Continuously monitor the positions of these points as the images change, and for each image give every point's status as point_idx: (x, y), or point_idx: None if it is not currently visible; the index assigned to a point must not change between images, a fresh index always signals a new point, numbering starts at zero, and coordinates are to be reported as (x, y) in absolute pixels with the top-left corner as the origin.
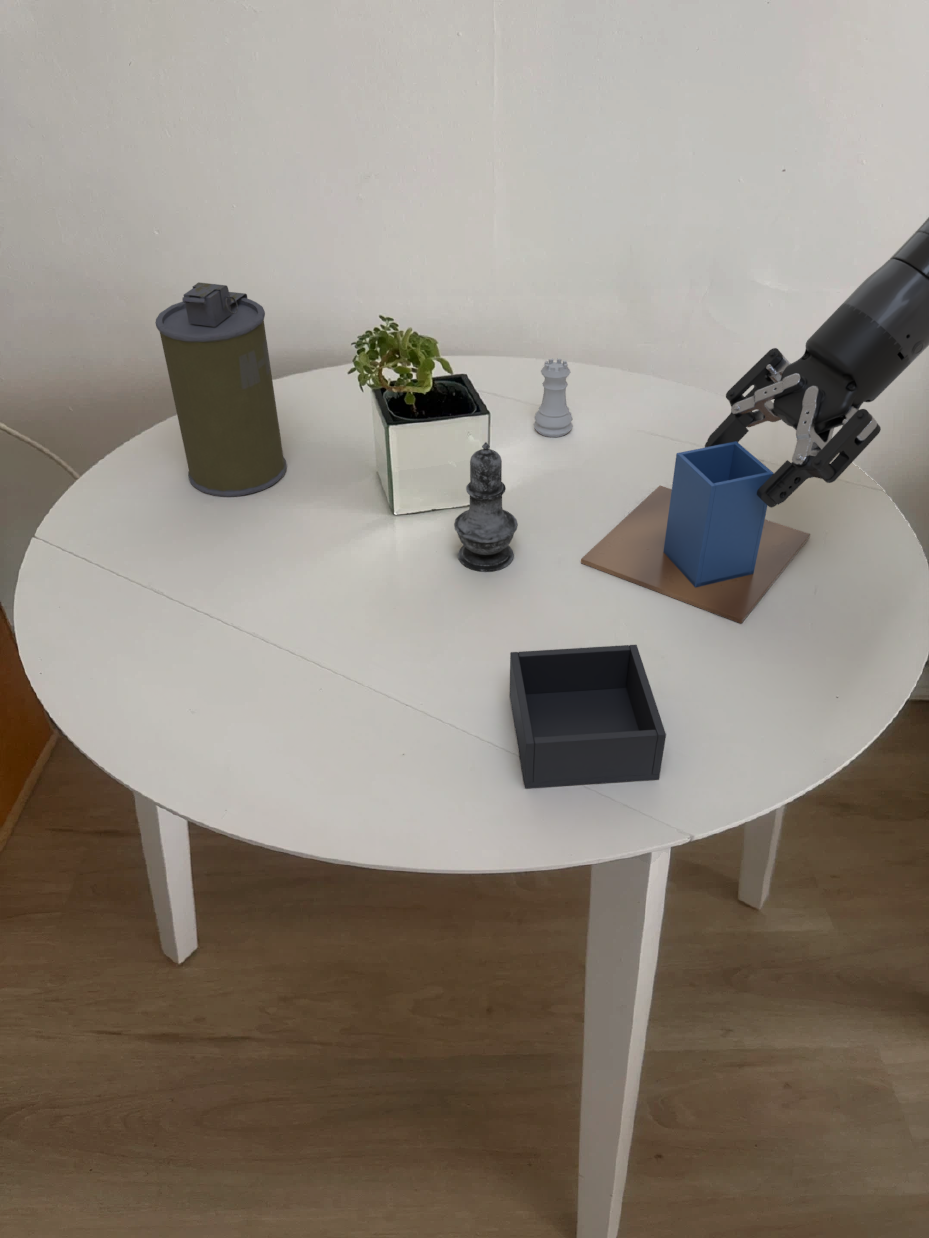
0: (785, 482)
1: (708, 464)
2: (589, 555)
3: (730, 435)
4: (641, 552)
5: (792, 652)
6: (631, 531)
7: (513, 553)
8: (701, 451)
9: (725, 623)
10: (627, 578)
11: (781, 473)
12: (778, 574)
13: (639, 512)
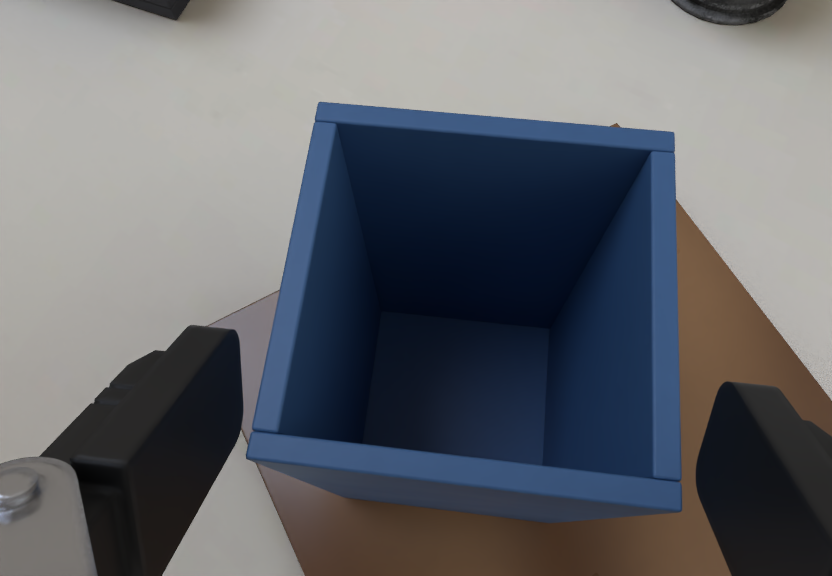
0: (96, 412)
1: (624, 341)
2: None
3: (764, 521)
4: None
5: (47, 378)
6: (692, 300)
7: (707, 16)
8: (649, 255)
9: (229, 302)
10: None
11: (124, 403)
12: (304, 573)
13: (788, 379)
